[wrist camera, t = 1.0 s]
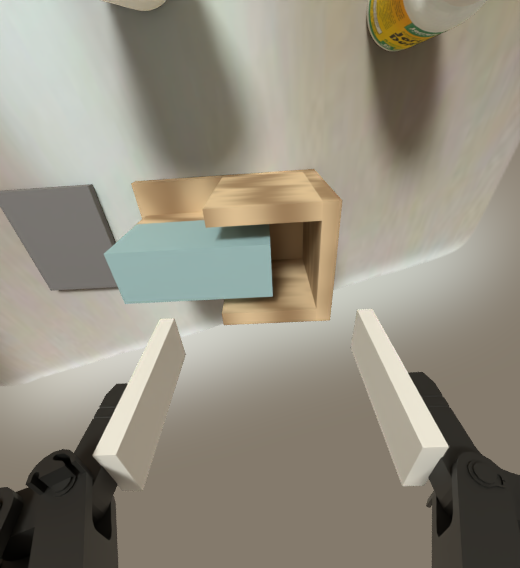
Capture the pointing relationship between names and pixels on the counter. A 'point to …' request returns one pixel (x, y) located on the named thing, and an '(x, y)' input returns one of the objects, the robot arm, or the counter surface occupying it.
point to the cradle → (282, 225)
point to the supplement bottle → (415, 20)
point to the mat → (62, 234)
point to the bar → (191, 262)
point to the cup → (138, 4)
